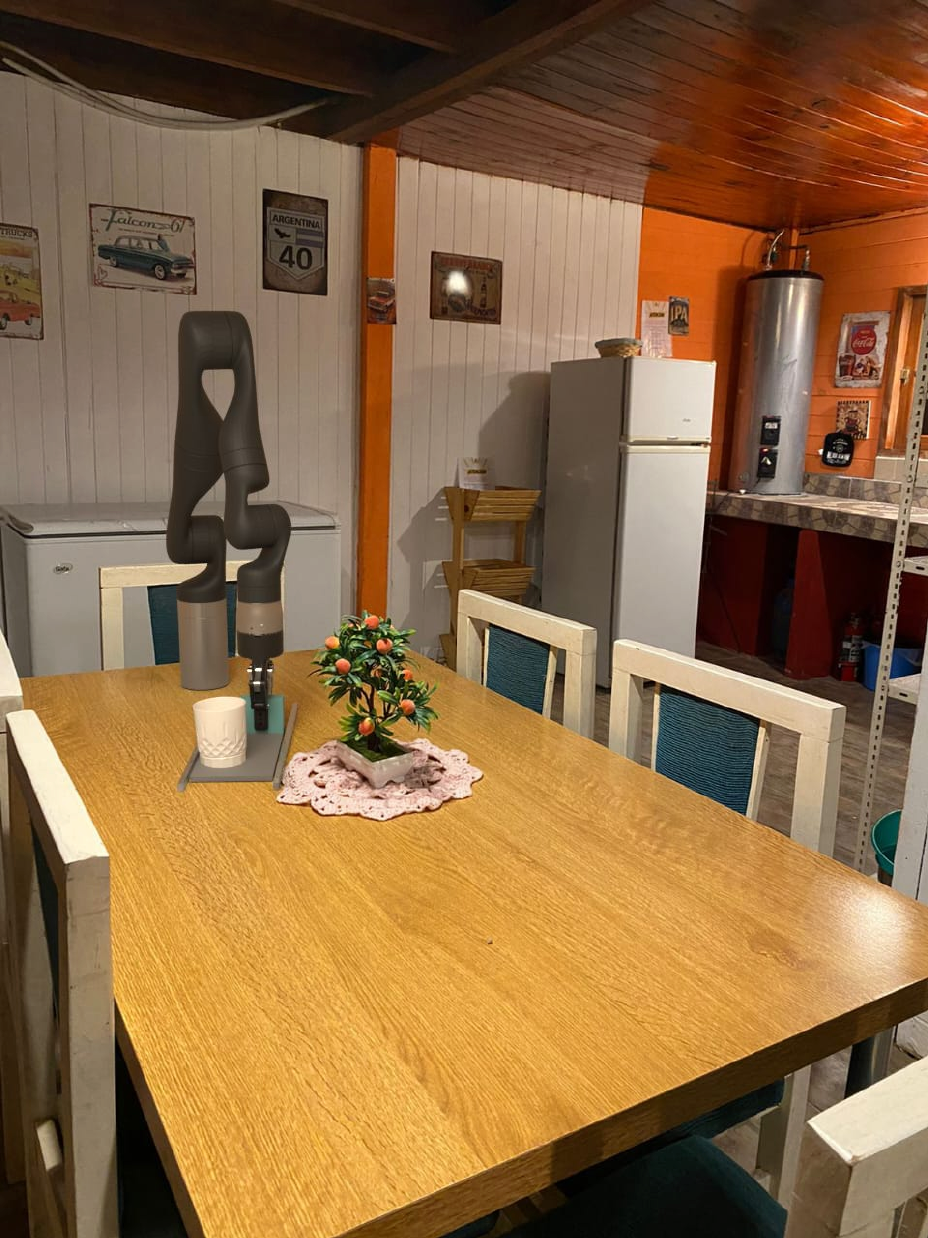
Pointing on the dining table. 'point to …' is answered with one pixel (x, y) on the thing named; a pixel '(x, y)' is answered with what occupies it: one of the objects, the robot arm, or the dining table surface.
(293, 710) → the rails
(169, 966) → the dining table surface
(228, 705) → the white cup
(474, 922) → the dining table surface
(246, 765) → the grey tray
